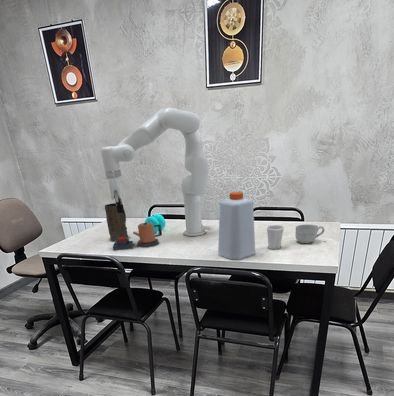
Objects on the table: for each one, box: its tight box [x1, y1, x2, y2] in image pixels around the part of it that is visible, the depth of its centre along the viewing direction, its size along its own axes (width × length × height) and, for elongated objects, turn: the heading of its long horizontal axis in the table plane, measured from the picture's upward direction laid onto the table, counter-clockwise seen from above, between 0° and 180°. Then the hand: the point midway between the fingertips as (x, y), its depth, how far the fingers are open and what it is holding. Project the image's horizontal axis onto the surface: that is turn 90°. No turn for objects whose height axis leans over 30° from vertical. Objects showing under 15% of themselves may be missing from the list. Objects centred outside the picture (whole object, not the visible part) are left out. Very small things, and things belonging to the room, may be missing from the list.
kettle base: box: [137, 237, 160, 248], centre depth 190 cm, size 12×12×2 cm
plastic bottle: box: [217, 191, 256, 261], centre depth 159 cm, size 15×15×28 cm
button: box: [118, 237, 126, 242], centre depth 186 cm, size 4×4×2 cm
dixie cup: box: [266, 224, 285, 250], centre depth 169 cm, size 8×8×10 cm
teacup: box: [295, 223, 325, 244], centre depth 174 cm, size 14×11×8 cm
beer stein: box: [104, 202, 129, 242], centre depth 201 cm, size 15×11×20 cm
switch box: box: [112, 238, 134, 251], centre depth 187 cm, size 10×8×4 cm
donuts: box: [144, 213, 166, 234], centre depth 210 cm, size 10×10×10 cm
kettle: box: [132, 222, 163, 243], centre depth 187 cm, size 17×8×10 cm, turn 126°
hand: (120, 212), depth 180 cm, fingers closed
